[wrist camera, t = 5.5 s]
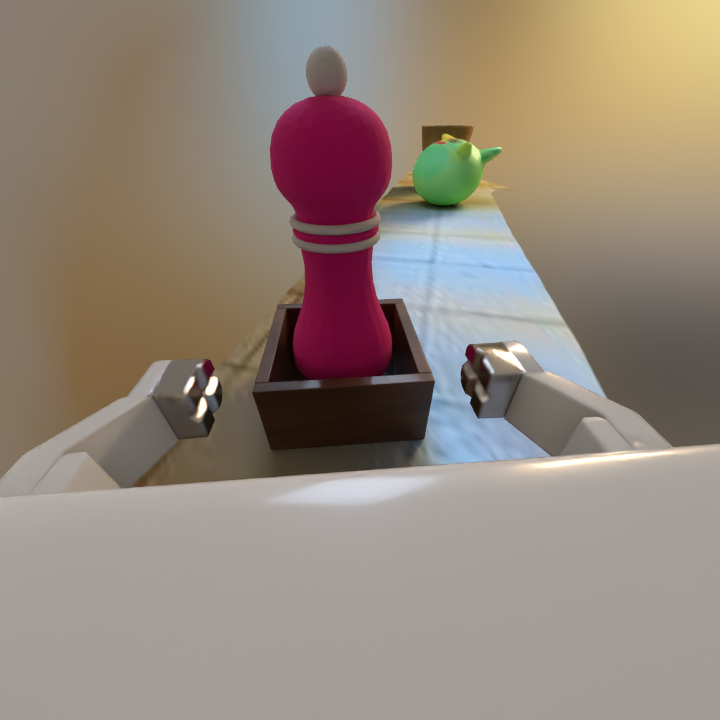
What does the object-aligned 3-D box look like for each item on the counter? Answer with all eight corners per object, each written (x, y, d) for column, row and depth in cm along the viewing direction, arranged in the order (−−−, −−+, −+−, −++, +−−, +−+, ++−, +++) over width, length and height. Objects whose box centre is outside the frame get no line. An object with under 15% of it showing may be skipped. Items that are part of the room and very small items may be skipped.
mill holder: (424, 439, 21) (435, 381, 18) (270, 450, 21) (251, 392, 17) (398, 349, 29) (402, 298, 26) (288, 355, 29) (277, 304, 26)
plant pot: (423, 192, 93) (430, 126, 83) (412, 184, 104) (416, 125, 94) (470, 190, 94) (482, 125, 84) (454, 182, 105) (463, 124, 95)
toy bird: (436, 195, 89) (444, 132, 79) (491, 203, 79) (508, 133, 70) (398, 205, 78) (402, 135, 69) (456, 216, 69) (470, 136, 60)
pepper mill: (340, 442, 21) (302, 11, 9) (284, 390, 25) (204, 48, 13) (408, 392, 25) (448, 42, 12) (349, 353, 29) (336, 63, 17)
